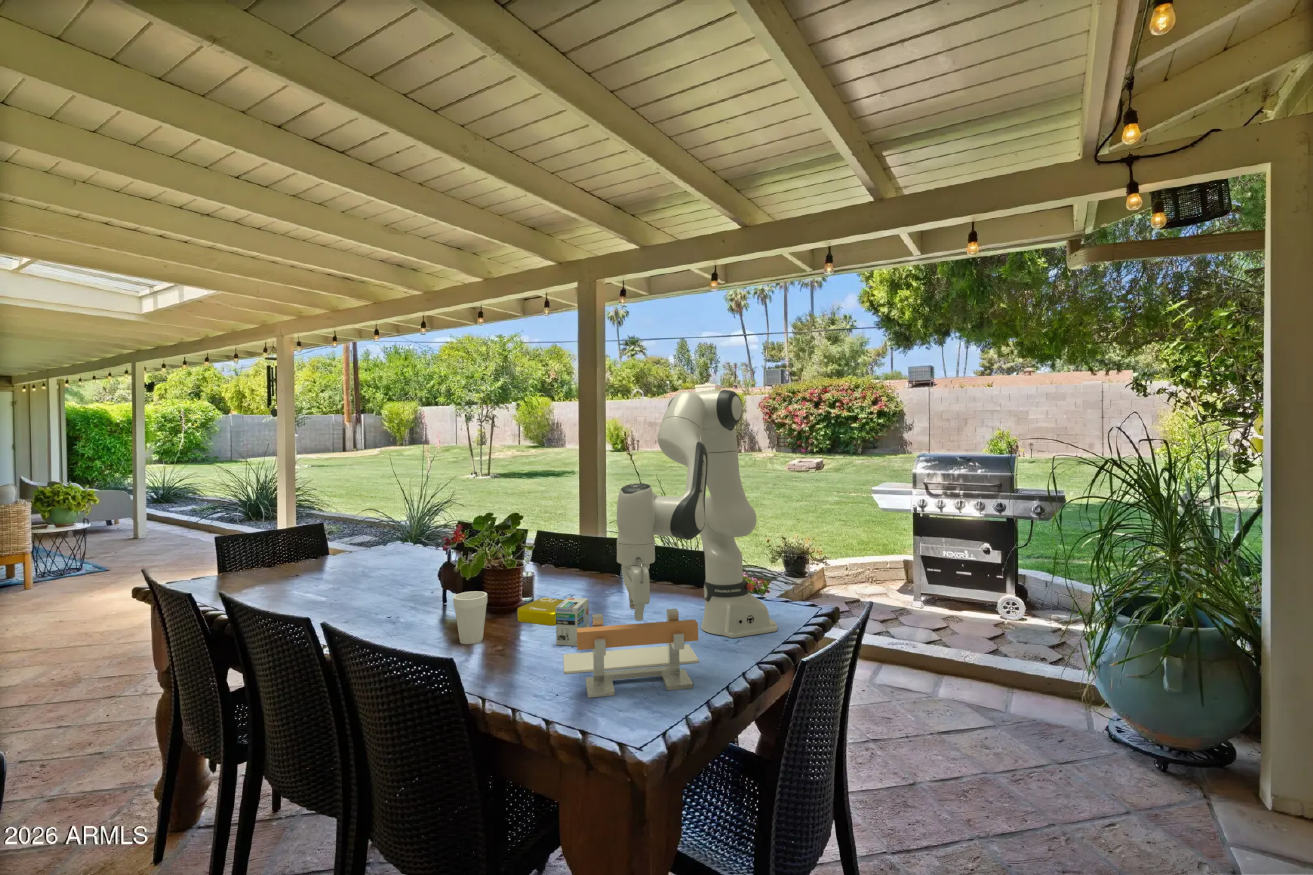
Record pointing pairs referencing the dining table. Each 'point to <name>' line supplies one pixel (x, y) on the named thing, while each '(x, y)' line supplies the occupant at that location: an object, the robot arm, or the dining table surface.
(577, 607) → the light bulb box
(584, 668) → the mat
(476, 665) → the dining table surface
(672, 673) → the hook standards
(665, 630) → the rail
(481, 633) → the foam cup
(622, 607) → the dining table surface
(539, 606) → the element tile
